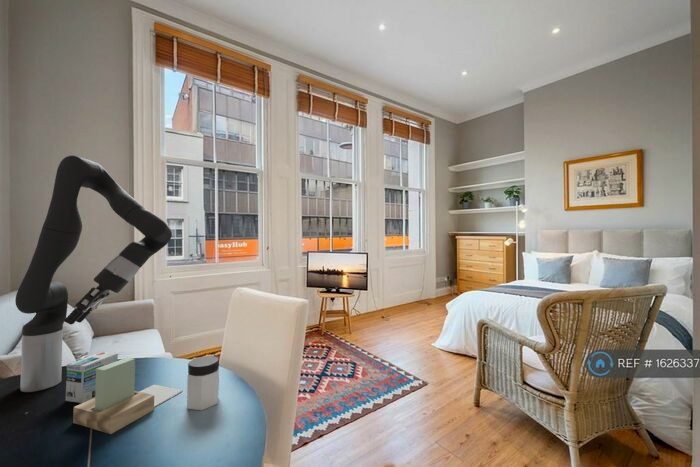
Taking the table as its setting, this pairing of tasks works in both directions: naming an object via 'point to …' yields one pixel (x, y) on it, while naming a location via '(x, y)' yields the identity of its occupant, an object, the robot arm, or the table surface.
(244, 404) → the table surface
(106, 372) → the grey-green angular block
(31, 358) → the robot arm
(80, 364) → the light bulb box
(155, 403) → the mat
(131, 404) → the grooved wooden block
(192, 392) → the jar
